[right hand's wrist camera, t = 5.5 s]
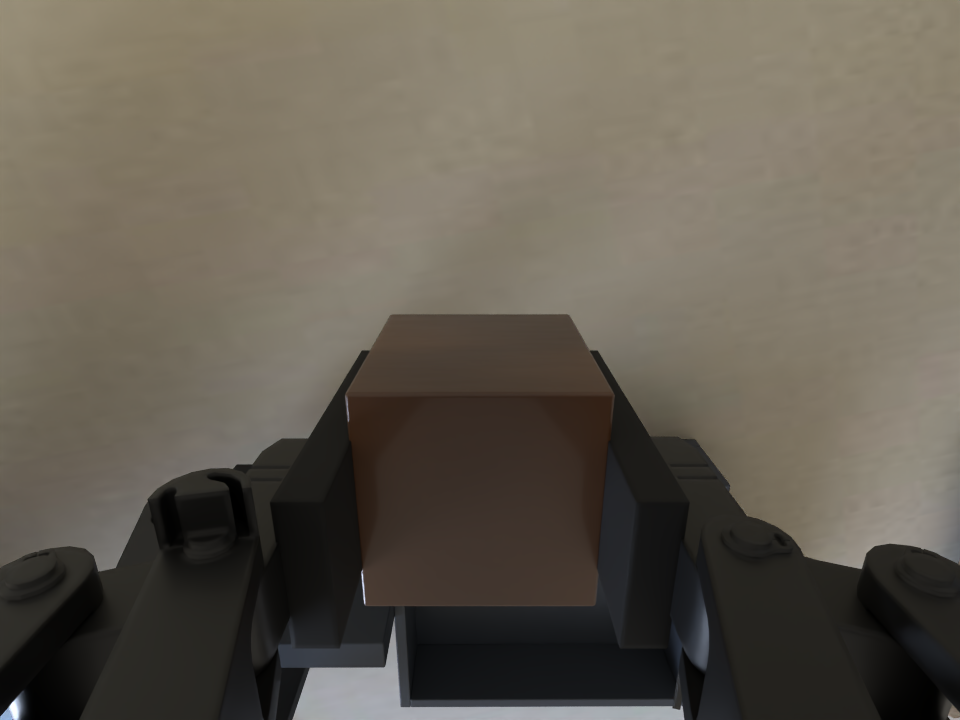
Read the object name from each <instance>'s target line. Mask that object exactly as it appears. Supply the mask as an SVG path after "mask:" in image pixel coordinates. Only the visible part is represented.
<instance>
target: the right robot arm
mask: <svg viewBox="0 0 960 720" xmlns="http://www.w3.org/2000/svg"><path fill="white" fill-rule="evenodd" d="M369 352H370V351H361V353H360V355H359V356H358V358H357V360H356V361H355V363H354V365H353V366H352V368H351V369H350V371H349V373H348V374H347V376H346V378H345V379H344V381H343V383H342V384H341V386H340V388H339V389H338V391H337V392H336V394H335V396H334V397H333V399H332V401H331V402H330V404H329V406H328V407H327V409H326V411H325V412H324V414H323V415H322V417H321V419H320V420H319V422H318V424H317V425H316V427H315V429H314V430H313V432H312V434H311V435H310V437H309V438H308V439H281V440H279V441H278V442H276V443H274V444H273V445H271V446H270V447H268V448H267V449H265V450H264V451H262V453H261V454H260V455H259V457H258V458H257V459H256V461H255V462H254V463H253V465H252V468H251V469H249V470H248V472H247V473H246V474H244V473H243V472H242V471H237V470H233V469H229V468H219V469H206V470H201V471H196V472H191V473H189V474H186V475H183V476H181V477H178V478H175V479H173V480H171V481H169V482H168V483H166V484H164V485H163V486H161V487H160V488H158V489H157V490H156V491H155V492H154V493H153V494H152V495H151V496H150V497H149V498H148V503H149V507H150V512H151V516H152V520H153V524H154V528H155V532H156V536H157V541H158V545H159V549H160V550H159V552H158V554H157V556H156V558H155V559H154V560H150V561H147V562H143V563H139V564H134V565H129V566H124V567H120V568H115V569H110V570H105V571H100V572H98V569H97V566H96V563H95V559H94V556H93V555H92V554H91V553H90V552H88V551H87V550H86V549H83V548H77V547H71V546H69V547H60V548H50V549H46V550H41V551H39V552H34V553H31V554H28V555H25V556H23V557H22V558H20V559H18V560H16V561H13V562H11V563H9V564H7V565H5V566H3V567H2V568H0V716H1V715H2V714H3V713H4V712H5V710H6V709H7V708H9V711H10V713H11V716H12V718H13V719H12V720H276V713H277V705H278V696H279V688H280V680H281V672H282V671H281V663H280V656H279V650H278V645H279V643H280V640H281V638H282V636H283V633H284V631H285V628H286V626H287V624H288V625H289V632H290V638H291V645H292V649H340V646H341V643H342V639H343V636H344V632H345V629H346V625H347V621H348V618H349V614H350V611H351V607H352V604H353V600H354V597H355V593H356V590H357V586H358V583H359V579H360V576H361V572H362V559H361V547H360V536H359V525H358V514H357V503H356V492H355V480H354V469H353V458H352V447H351V441H349V435H348V424H347V413H346V402H345V394H346V392H347V390H348V388H349V387H350V385H351V383H352V381H353V380H354V378H355V376H356V374H357V373H358V371H359V369H360V368H361V366H362V364H363V362H364V361H365V359H366V357H367V355H368V354H369ZM590 352H591V354H592V356H593V358H594V359H595V361H596V363H597V365H598V366H599V368H600V370H601V372H602V373H603V375H604V377H605V379H606V380H607V382H608V384H609V386H610V387H611V389H612V391H613V393H614V395H615V397H614V408H613V419H612V430H611V440H610V441H609V442H608V453H607V464H606V476H605V487H604V498H603V509H602V520H601V532H600V543H599V554H598V565H597V570H598V574H599V577H600V581H601V584H602V588H603V591H604V595H605V598H606V602H607V605H608V609H609V612H610V616H611V620H612V623H613V627H614V630H615V634H616V637H617V641H618V644H619V648H620V649H668V642H669V636H670V629H671V622H673V624H674V627H675V629H676V631H677V634H678V636H679V639H680V641H681V643H682V650H681V656H680V663H679V669H678V675H677V681H676V687H675V693H674V700H673V708H674V709H679V710H680V707H681V701H682V703H683V711H684V719H685V720H950V719H949V718H948V717H947V716H948V714H949V712H950V709H951V707H952V705H953V706H954V707H955V708H956V709H957V710H958V711H959V712H960V565H958V564H957V563H955V562H953V561H951V560H948V559H946V558H944V557H942V556H940V555H938V554H937V553H934V552H931V551H928V550H925V549H924V550H923V549H921V548H918V547H913V546H907V545H897V544H886V545H880V546H875V547H873V548H872V549H871V550H870V551H869V552H868V553H867V554H866V557H865V561H864V564H863V567H862V569H857V568H853V567H848V566H843V565H838V564H833V563H828V562H823V561H819V560H815V559H811V558H807V557H804V555H803V553H802V551H801V549H800V548H799V546H798V545H797V544H796V543H795V541H794V540H793V539H792V537H790V536H789V535H788V534H786V533H785V532H783V531H782V530H781V529H779V528H778V527H776V526H774V525H771V524H769V523H767V522H765V521H762V520H760V519H756V518H752V517H748V516H747V515H746V514H745V513H744V511H743V510H742V509H741V507H740V506H739V505H738V503H737V502H736V501H735V499H734V498H733V497H732V495H731V494H730V493H729V491H728V490H727V489H726V487H725V486H724V484H723V483H722V482H721V480H720V479H717V475H716V474H715V472H714V471H713V470H712V468H711V467H708V463H707V462H706V460H705V459H704V458H703V456H702V455H701V454H700V452H699V451H698V450H697V449H696V448H694V447H693V446H691V445H690V444H688V443H687V442H685V441H684V440H682V439H680V438H679V437H650V436H649V434H648V433H647V431H646V429H645V428H644V426H643V424H642V423H641V421H640V419H639V418H638V416H637V415H636V413H635V411H634V410H633V408H632V406H631V405H630V403H629V401H628V400H627V398H626V396H625V395H624V393H623V392H622V390H621V388H620V387H619V385H618V383H617V382H616V380H615V378H614V377H613V375H612V373H611V372H610V370H609V369H608V367H607V365H606V364H605V362H604V360H603V359H602V357H601V355H600V354H599V352H598V351H590Z"/></svg>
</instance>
